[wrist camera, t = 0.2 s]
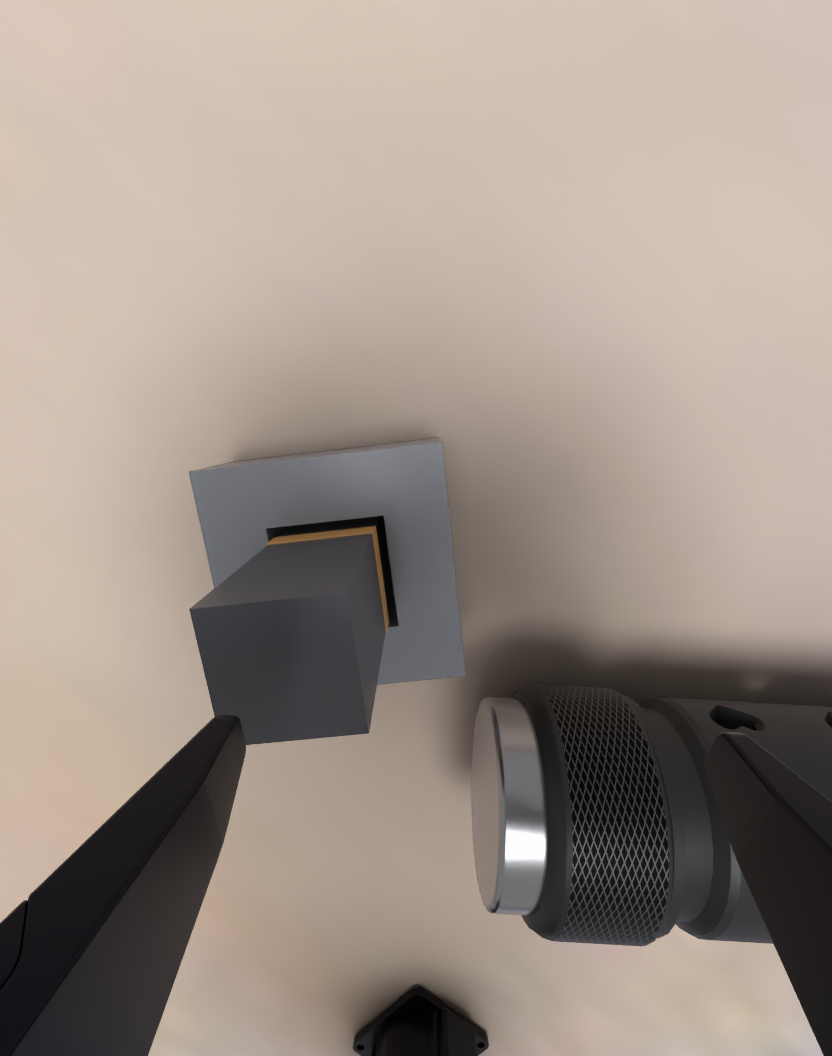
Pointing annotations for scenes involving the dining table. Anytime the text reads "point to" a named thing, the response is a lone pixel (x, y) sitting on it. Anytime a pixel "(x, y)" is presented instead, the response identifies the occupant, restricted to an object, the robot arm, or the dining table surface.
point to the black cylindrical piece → (621, 810)
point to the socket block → (348, 493)
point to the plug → (300, 632)
